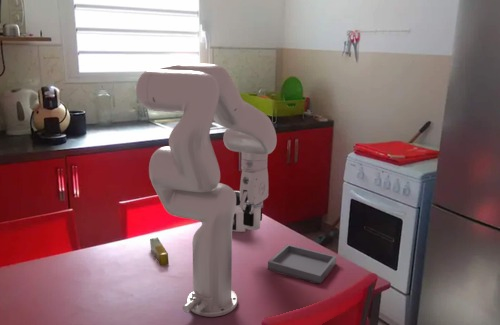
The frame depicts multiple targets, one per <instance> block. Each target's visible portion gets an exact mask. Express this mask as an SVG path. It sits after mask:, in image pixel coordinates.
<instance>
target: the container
mask: <svg viewBox="0 0 500 325" xmlns="http://www.w3.org/2000/svg"><path fill="white" fill-rule="evenodd" d="M234 192H235V194H236V208H235V213H234V219H233V226H232V232H233V231H234V232H235V233H236V232H238V233H239V232H241V233H243V232H244V233H245V232H246V230H247V229H246V228H245V225H244V224H243V214H244V213H243V210H242V209H241V208H240V207H239V205H240V202H241V201H240V190H234ZM234 232H233V233H234Z"/></svg>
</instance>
